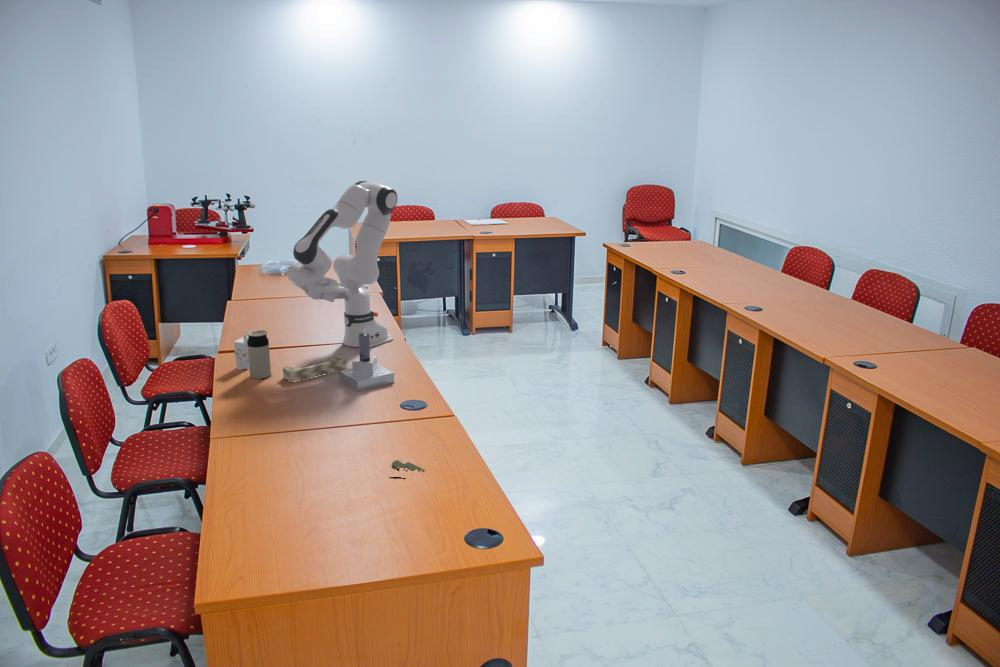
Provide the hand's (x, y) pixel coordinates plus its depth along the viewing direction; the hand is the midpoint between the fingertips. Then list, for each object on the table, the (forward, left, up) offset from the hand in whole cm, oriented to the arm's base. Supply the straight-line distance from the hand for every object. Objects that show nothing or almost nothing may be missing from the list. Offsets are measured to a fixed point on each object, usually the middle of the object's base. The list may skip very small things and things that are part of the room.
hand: (341, 300), depth 313 cm
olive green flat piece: (+29, +93, -29) cm, 102 cm away
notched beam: (+12, -2, -29) cm, 31 cm away
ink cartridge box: (+30, -27, -29) cm, 50 cm away
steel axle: (0, +17, -25) cm, 30 cm away
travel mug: (+30, -13, -29) cm, 44 cm away
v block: (0, +17, -29) cm, 34 cm away
